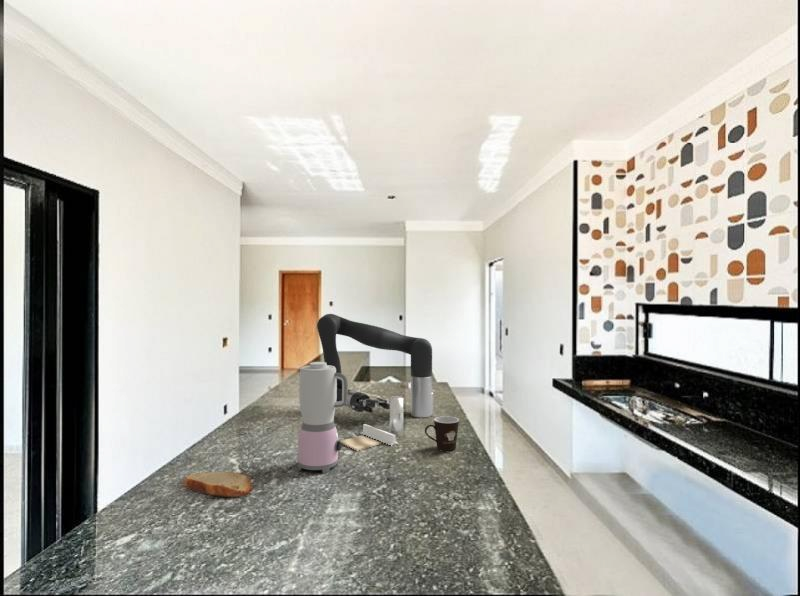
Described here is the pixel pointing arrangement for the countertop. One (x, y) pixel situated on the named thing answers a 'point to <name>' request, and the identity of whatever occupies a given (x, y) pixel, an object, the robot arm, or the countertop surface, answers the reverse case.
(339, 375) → the blender
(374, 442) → the oak board
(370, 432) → the acrylic fence
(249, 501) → the countertop surface
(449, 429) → the coffee mug
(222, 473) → the bread slice
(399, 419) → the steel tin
